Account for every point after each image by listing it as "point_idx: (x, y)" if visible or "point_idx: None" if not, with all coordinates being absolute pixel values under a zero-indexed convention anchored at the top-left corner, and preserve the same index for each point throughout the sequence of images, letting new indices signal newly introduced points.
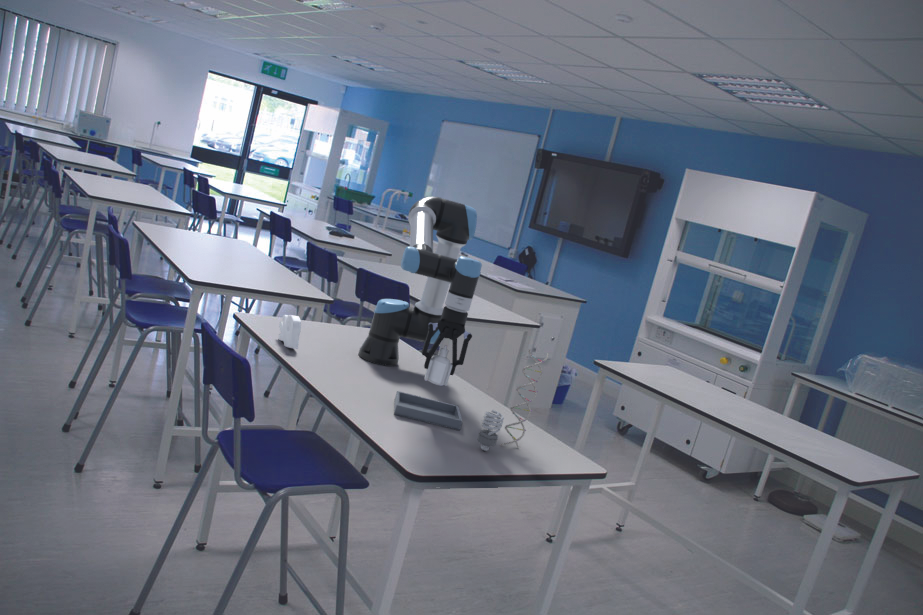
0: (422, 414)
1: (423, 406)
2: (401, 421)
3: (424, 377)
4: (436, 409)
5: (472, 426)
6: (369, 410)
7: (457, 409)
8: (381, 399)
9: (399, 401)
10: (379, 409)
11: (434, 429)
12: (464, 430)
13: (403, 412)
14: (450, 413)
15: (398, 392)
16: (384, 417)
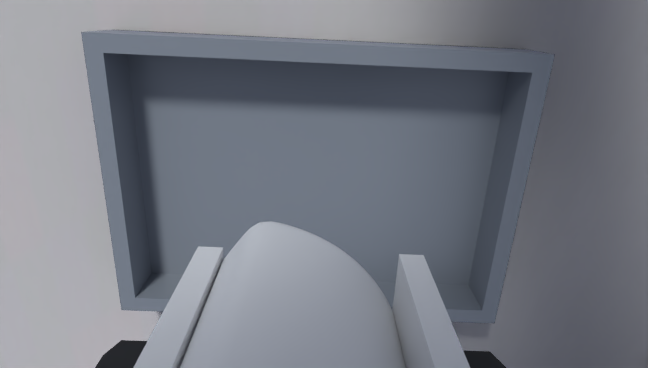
0: None
1: (302, 73)
2: None
3: (197, 248)
4: (390, 72)
5: (582, 191)
6: (26, 293)
7: (521, 142)
8: (39, 84)
9: (144, 85)
10: (65, 252)
11: None
12: (507, 274)
13: None
14: (480, 89)
15: (98, 67)
16: (107, 334)
